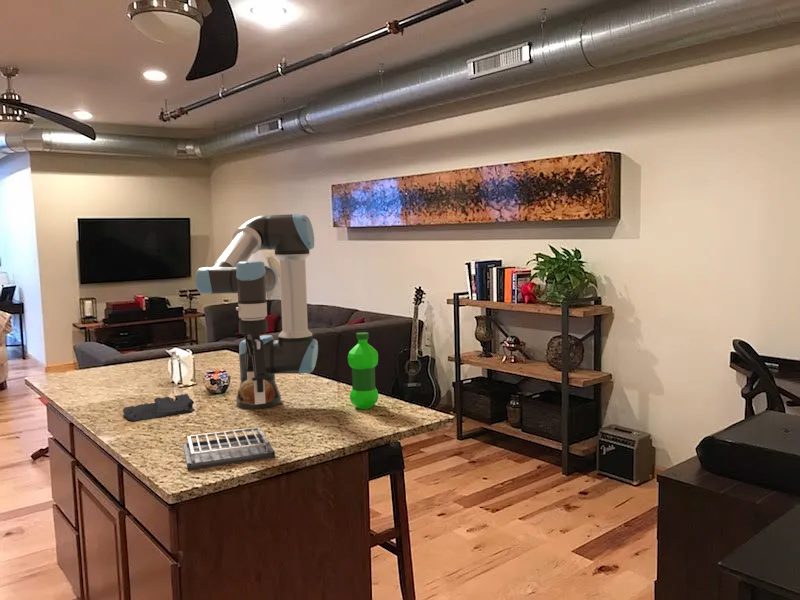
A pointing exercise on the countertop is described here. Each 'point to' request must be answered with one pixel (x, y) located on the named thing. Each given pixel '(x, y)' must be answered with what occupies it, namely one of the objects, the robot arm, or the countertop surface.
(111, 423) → the countertop surface
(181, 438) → the countertop surface
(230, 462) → the cooling rack
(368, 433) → the countertop surface
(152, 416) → the dark slate chunk
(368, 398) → the plastic bottle
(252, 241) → the robot arm
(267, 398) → the bread roll
